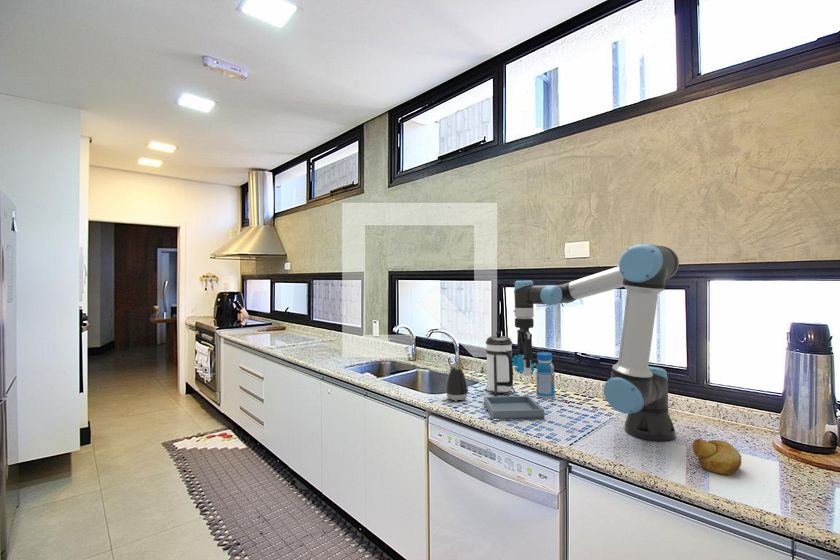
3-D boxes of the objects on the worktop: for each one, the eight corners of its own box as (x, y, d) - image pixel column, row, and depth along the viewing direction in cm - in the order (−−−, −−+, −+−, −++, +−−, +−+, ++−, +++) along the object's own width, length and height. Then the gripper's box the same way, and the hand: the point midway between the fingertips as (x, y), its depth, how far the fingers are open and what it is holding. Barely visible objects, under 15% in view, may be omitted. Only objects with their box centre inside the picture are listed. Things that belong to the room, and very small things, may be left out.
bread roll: (712, 456, 117) (711, 429, 117) (752, 469, 108) (751, 440, 108) (689, 466, 111) (688, 438, 111) (730, 481, 102) (728, 450, 102)
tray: (544, 419, 152) (544, 409, 152) (493, 420, 152) (492, 411, 152) (529, 403, 172) (529, 395, 172) (484, 404, 172) (483, 396, 172)
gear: (516, 373, 155) (510, 352, 162) (510, 381, 159) (504, 360, 166) (541, 374, 158) (533, 354, 165) (534, 382, 162) (527, 362, 169)
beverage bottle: (541, 399, 178) (540, 355, 179) (533, 394, 187) (532, 352, 187) (558, 397, 180) (557, 354, 180) (549, 393, 188) (548, 351, 188)
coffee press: (478, 394, 188) (476, 332, 189) (492, 387, 201) (490, 328, 202) (512, 399, 178) (511, 334, 179) (525, 391, 191) (523, 330, 192)
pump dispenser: (462, 395, 187) (461, 363, 187) (471, 401, 177) (470, 367, 177) (442, 398, 184) (441, 365, 184) (451, 404, 174) (450, 369, 174)
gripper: (509, 315, 171) (510, 367, 171) (521, 320, 151) (521, 379, 151) (526, 315, 171) (527, 367, 171) (540, 320, 151) (541, 379, 151)
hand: (524, 372), depth 161 cm, fingers closed on gear, 8 cm apart
